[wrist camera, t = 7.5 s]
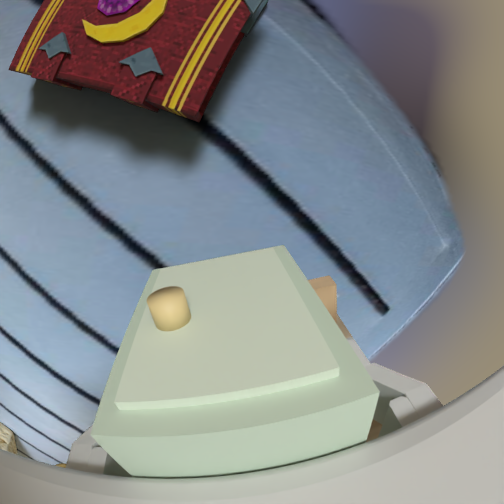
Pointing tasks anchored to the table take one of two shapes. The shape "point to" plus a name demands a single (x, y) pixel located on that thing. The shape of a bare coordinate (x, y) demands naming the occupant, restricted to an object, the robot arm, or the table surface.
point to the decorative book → (138, 48)
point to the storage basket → (7, 439)
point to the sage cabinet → (232, 373)
